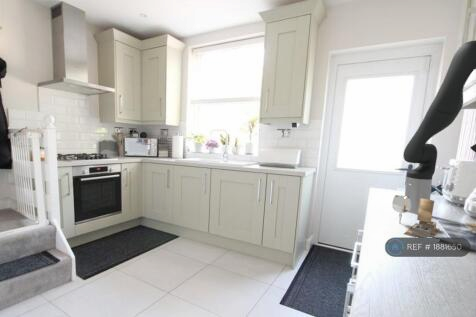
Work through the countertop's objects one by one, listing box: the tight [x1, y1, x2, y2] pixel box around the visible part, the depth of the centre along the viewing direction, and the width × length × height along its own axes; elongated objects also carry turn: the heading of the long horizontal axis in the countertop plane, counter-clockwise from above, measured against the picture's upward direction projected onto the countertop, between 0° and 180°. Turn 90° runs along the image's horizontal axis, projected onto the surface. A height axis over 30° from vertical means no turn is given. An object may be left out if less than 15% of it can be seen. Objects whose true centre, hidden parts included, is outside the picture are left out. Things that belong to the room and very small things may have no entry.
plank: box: [403, 220, 441, 239], centre depth 77 cm, size 18×7×4 cm, turn 130°
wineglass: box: [391, 194, 411, 224], centre depth 85 cm, size 6×6×12 cm
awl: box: [416, 198, 435, 230], centre depth 74 cm, size 4×4×12 cm
